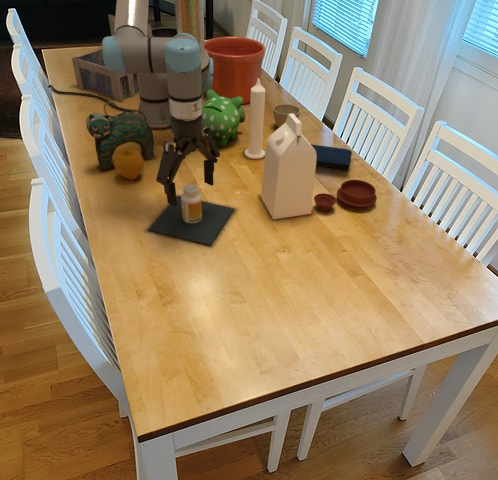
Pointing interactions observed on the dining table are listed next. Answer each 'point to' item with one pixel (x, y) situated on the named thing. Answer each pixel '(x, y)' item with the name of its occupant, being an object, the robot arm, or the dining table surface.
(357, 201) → the pottery
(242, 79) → the pot
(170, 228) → the mat
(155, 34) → the planter
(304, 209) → the milk
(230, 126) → the piggy bank
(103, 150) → the ceramic cat
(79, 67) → the building
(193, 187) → the supplement bottle
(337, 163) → the game console
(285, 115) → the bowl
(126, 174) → the apple
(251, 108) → the candle
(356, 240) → the dining table surface
